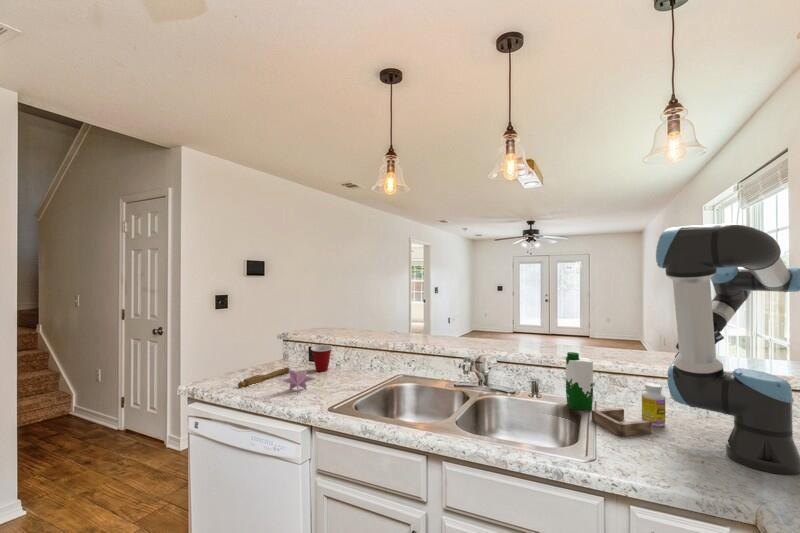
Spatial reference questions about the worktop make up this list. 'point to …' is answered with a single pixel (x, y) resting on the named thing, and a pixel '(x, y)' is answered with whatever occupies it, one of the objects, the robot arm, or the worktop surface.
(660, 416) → the supplement bottle
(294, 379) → the lily
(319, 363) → the plastic cup
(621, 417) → the walnut dock
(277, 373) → the tap handle
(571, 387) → the milk carton
